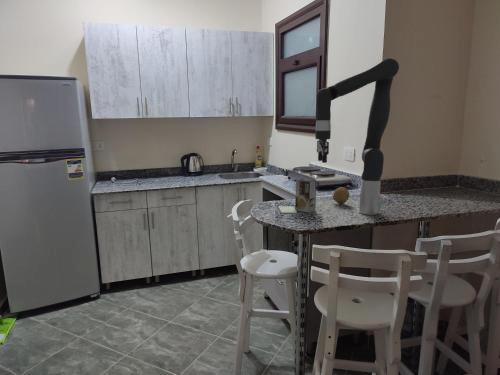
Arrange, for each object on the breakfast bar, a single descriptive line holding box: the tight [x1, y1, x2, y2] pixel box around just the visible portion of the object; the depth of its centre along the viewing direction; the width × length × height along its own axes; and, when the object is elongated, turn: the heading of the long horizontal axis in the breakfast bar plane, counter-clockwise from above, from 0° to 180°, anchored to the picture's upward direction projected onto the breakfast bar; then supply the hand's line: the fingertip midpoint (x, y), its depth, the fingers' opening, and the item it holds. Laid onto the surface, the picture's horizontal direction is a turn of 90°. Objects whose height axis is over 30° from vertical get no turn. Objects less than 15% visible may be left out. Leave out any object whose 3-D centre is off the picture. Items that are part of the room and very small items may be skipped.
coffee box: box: [294, 178, 317, 213], centre depth 186 cm, size 9×6×16 cm
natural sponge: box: [332, 186, 350, 205], centre depth 199 cm, size 9×9×10 cm
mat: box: [278, 205, 298, 214], centre depth 187 cm, size 8×12×1 cm, turn 3°
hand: (322, 161), depth 183 cm, fingers open, 8 cm apart
